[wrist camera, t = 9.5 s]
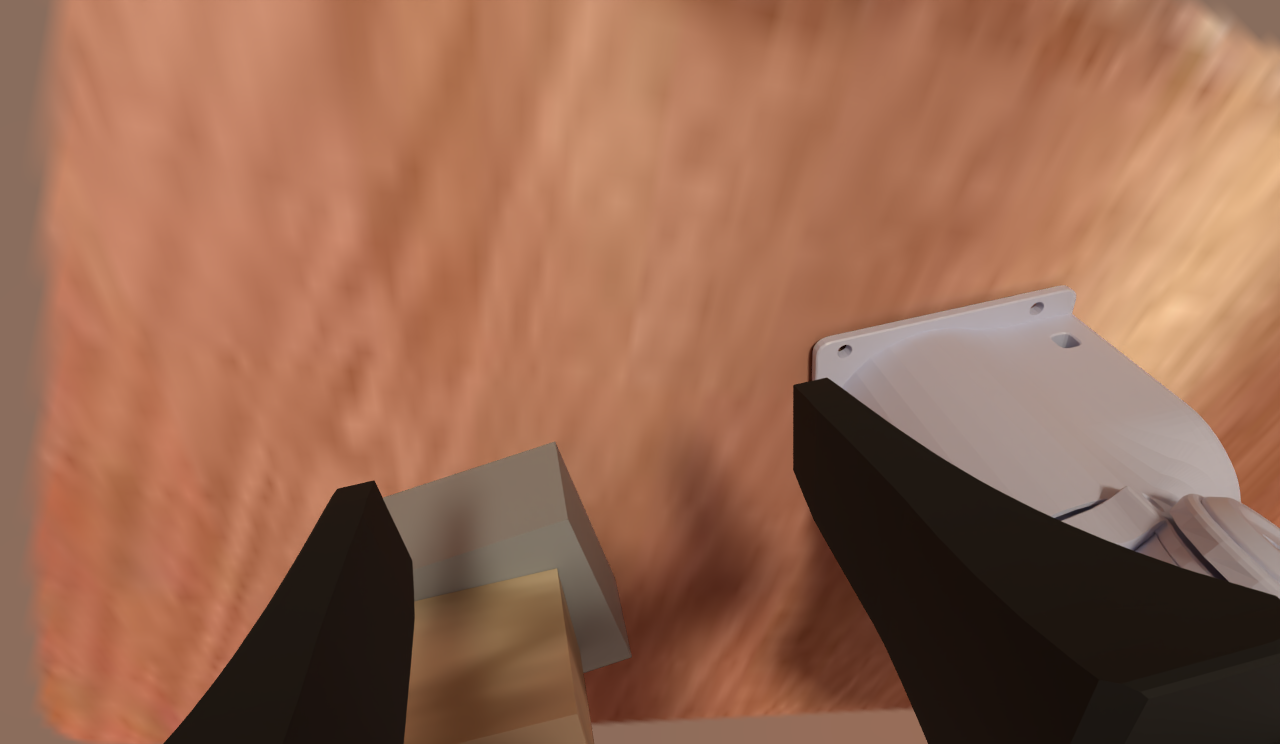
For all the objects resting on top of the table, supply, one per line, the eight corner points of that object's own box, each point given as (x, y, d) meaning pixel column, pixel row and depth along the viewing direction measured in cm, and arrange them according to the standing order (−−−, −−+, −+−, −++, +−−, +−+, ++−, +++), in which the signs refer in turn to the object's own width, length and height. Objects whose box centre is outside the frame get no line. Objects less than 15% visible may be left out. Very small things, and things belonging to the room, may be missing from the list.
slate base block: (554, 435, 26) (567, 519, 23) (613, 572, 31) (631, 656, 28) (334, 506, 26) (318, 600, 23) (428, 633, 31) (426, 725, 28)
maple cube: (557, 568, 24) (577, 713, 20) (580, 652, 27) (602, 794, 23) (407, 602, 24) (398, 758, 20) (447, 684, 27) (446, 835, 23)
